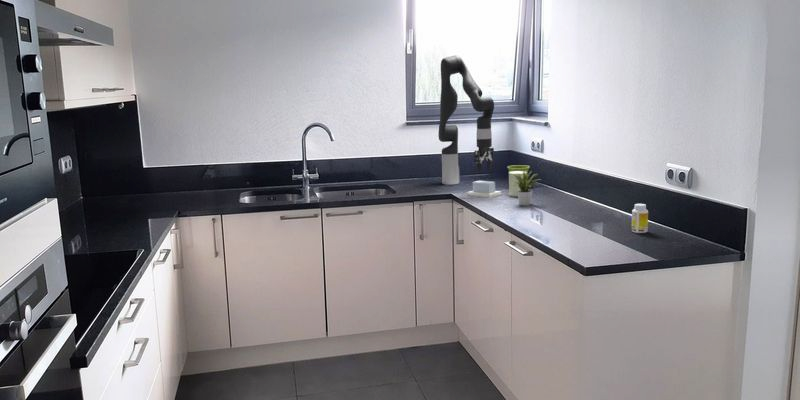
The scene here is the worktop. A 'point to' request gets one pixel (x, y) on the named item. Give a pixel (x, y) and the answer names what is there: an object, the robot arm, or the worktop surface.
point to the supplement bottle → (640, 218)
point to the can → (512, 179)
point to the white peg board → (484, 194)
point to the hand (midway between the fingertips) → (484, 169)
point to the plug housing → (484, 186)
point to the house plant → (524, 188)
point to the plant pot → (518, 168)
